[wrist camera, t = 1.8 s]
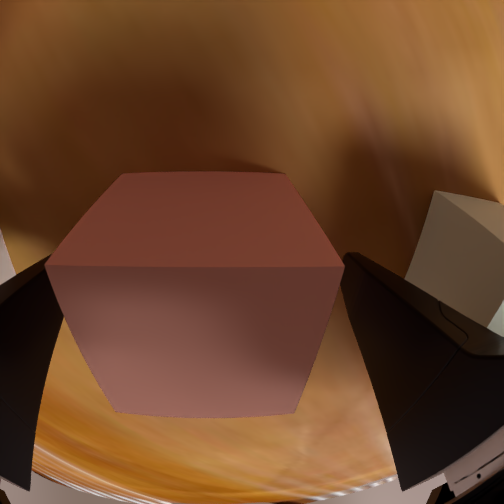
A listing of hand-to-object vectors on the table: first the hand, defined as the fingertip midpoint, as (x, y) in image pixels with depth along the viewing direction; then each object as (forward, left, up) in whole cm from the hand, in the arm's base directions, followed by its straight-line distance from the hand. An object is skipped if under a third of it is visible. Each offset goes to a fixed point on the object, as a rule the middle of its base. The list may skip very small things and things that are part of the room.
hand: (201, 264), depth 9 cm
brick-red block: (0, 0, -1) cm, 1 cm away
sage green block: (-11, 0, -1) cm, 11 cm away
